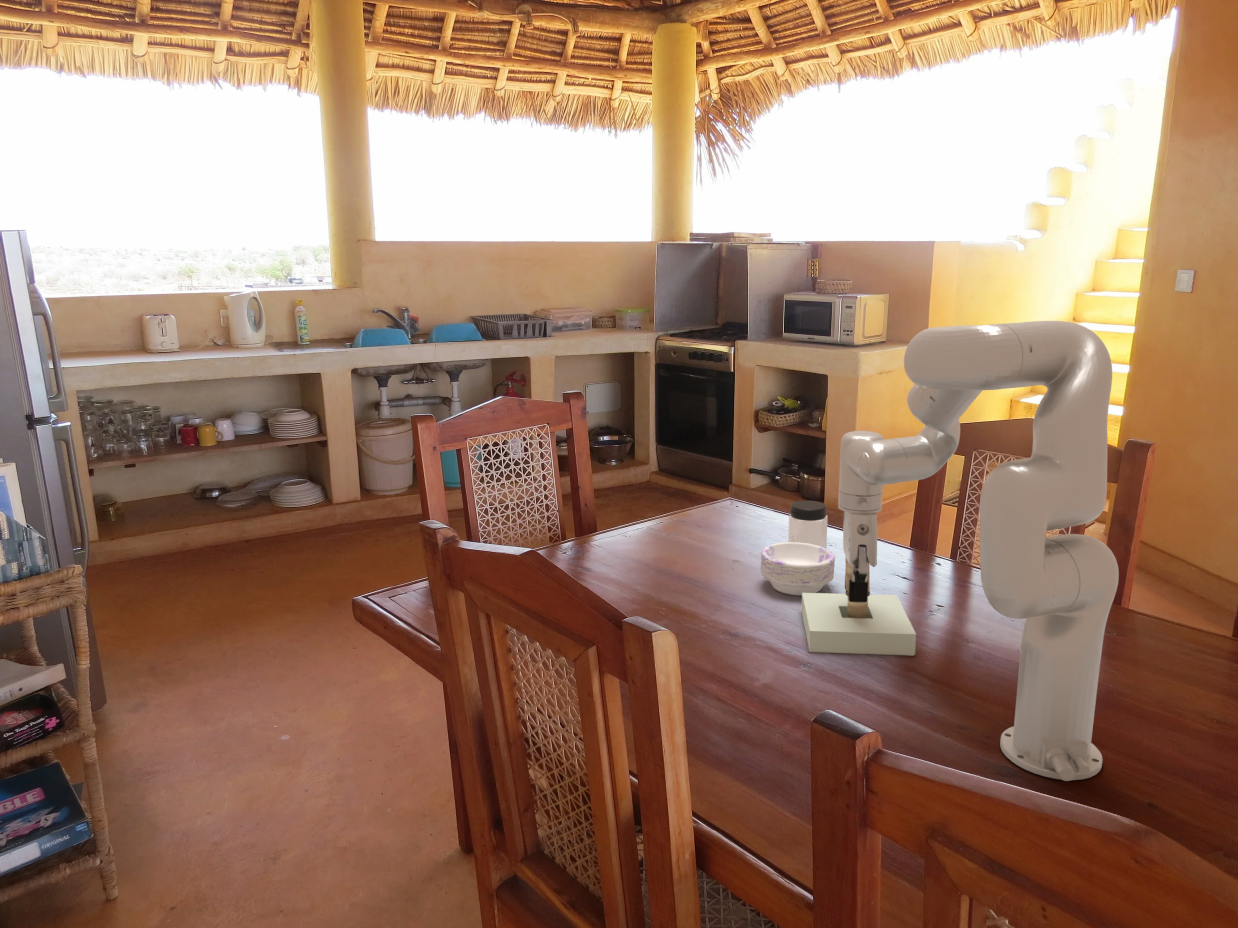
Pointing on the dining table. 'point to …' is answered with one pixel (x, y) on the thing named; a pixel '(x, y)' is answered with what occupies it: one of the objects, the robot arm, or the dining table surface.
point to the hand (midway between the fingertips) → (855, 594)
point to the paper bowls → (797, 567)
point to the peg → (856, 607)
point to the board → (857, 626)
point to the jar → (808, 523)
